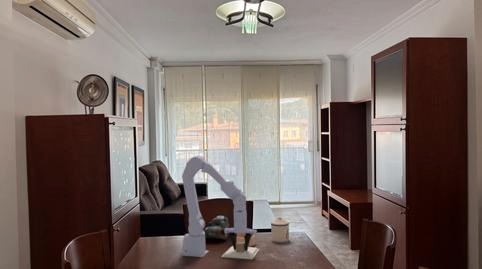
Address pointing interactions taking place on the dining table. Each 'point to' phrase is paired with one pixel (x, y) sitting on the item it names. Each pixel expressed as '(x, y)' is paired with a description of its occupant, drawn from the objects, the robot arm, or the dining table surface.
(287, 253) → the dining table surface
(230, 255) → the cover plate
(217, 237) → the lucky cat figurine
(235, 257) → the mat
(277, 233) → the teacup with lid
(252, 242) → the bowl
